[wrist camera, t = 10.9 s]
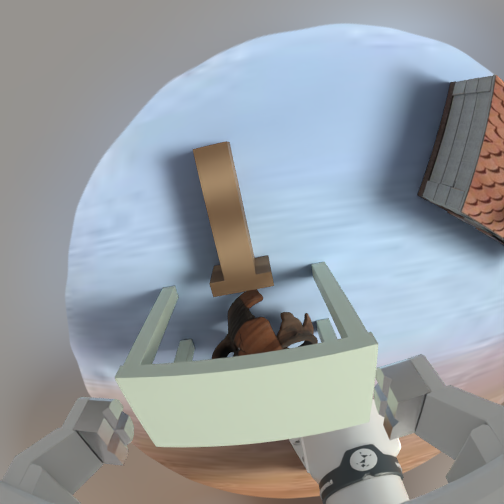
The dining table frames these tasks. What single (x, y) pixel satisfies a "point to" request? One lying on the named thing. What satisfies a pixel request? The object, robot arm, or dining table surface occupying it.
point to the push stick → (229, 224)
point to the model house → (470, 156)
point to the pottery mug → (260, 330)
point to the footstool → (253, 382)
